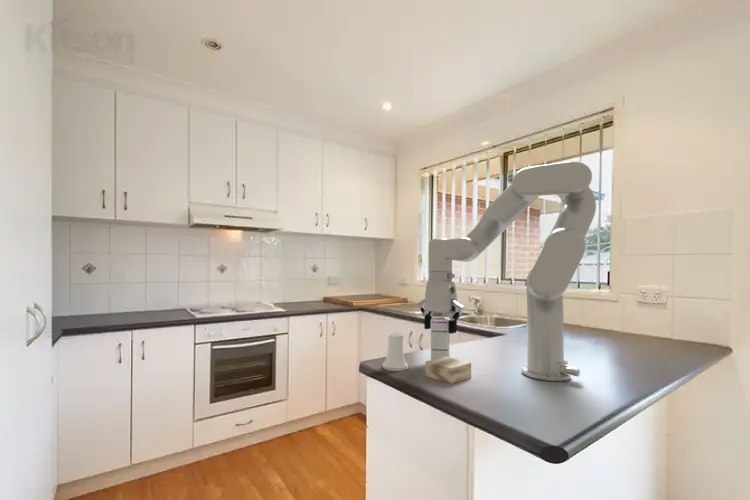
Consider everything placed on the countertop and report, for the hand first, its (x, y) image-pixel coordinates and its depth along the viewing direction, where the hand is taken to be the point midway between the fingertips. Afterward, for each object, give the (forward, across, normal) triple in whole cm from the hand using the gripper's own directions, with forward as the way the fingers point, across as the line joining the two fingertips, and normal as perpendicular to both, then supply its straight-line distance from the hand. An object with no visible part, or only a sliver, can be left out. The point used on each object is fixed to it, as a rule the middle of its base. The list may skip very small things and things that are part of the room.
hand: (440, 330), depth 115 cm
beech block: (+10, -10, +9) cm, 17 cm away
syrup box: (+11, 0, 0) cm, 11 cm away
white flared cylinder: (+11, +6, +14) cm, 19 cm away
